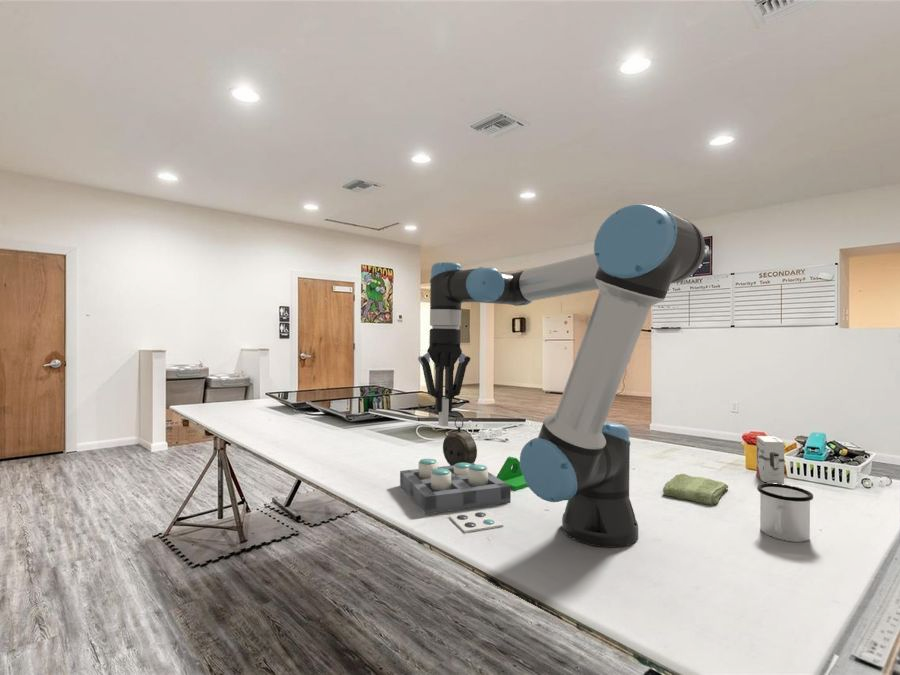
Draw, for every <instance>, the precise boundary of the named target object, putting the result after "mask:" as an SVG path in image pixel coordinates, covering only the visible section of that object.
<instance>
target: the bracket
mask: <svg viewBox="0 0 900 675" xmlns="http://www.w3.org/2000/svg"><path fill="white" fill-rule="evenodd" d="M496 477H497V478H499V479H500V480H502V481H503V482H505V483H507V484H508V485H510V486H511V490H513V491H515V492H517V491H519V490H520V491H521V490H522V489H527V488H529V487H528V485H527V484H526V482H525V480H524V476H523V474H522V473H521V468H520V459H518V458H517V457H513V456H507V458H506V460H505V461H504V463H503V465H502V466H501V468H500V470H499V472H498V473H497V475H496Z"/></svg>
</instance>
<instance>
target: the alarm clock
mask: <svg viewBox="0 0 900 675" xmlns="http://www.w3.org/2000/svg"><path fill="white" fill-rule="evenodd" d="M457 420H460V421H461V423H462V424H461V426H457V424H456V421H457ZM454 426H455V428H456V429H457V431H454V432H450V433H449V434H447V435H446V436H445V437H444V440H443V444H442V452H443V456H444V459H445V460H446V462H447V463H448V465H449V466H452V465H455V464H456V463H469V464H472V463H475V462H476V459H477V457H478V448H477V447H478V446H477V444H476V442H475V439H474V438H473V436H472V435H471V434H470V433H469V432H467V431H466V430H462V428H463V426H464V420H463V419H462V418H461V417H456V418H455V420H454Z"/></svg>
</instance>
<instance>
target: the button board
mask: <svg viewBox="0 0 900 675" xmlns="http://www.w3.org/2000/svg"><path fill="white" fill-rule="evenodd" d="M471 465H477V464H476V463H475V462H474V463H472V464H471ZM439 468H443V469H448V470H450V472H451V490H443V491H435V492H434V491H432V490H431V478H430V479H419V468H417V469H406V470H400V471H399V486H400V487H401V489H402V490H404V492H405V493H406V494H407V496H409V497H410V499H411V501H413V503H415V504H416V505H417V507H418V508H419V509H420V510H421V511H422V512H423V514H424V515H430V514H436V513H443V512H450V511H451V512H452V511H458V510H464V509H465V510H466V509H472V508H479V507H486V506H493V505H501V504H508V503H511V501H512V500H511V493H512V491H511V490H512V489H511V486H510V485H508V484H507V483H505V482H503V481H502V480H500V479H499V478H497V476H495V475H494V474H492V473H490V472H489V471H488V485H483V486H475V487H471V486H469V485H468V474H466V475H457V476H456V475H455V474H454V465H452V466H450V465H446V466H443V465H442V466H438V469H439Z"/></svg>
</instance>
